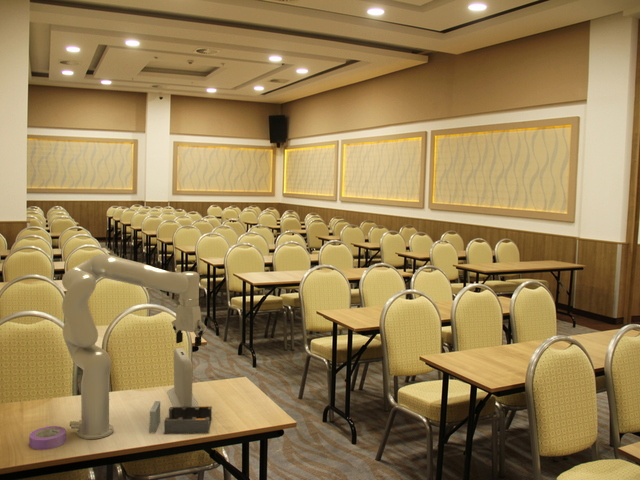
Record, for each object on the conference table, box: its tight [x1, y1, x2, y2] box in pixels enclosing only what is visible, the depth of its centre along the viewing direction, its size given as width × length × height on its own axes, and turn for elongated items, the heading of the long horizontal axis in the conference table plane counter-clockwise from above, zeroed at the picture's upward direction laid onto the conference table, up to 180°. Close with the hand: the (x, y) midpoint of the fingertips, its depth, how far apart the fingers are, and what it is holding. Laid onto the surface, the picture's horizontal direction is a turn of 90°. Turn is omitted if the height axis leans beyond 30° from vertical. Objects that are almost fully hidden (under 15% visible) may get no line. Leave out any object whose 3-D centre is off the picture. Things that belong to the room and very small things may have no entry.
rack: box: [163, 405, 213, 435], centre depth 228 cm, size 16×14×5 cm
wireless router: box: [166, 347, 200, 407], centre depth 256 cm, size 31×10×20 cm, turn 22°
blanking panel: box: [149, 400, 161, 434], centre depth 227 cm, size 2×11×8 cm, turn 6°
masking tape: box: [28, 425, 67, 451], centre depth 211 cm, size 12×12×4 cm
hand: (188, 344), depth 243 cm, fingers open, 9 cm apart
